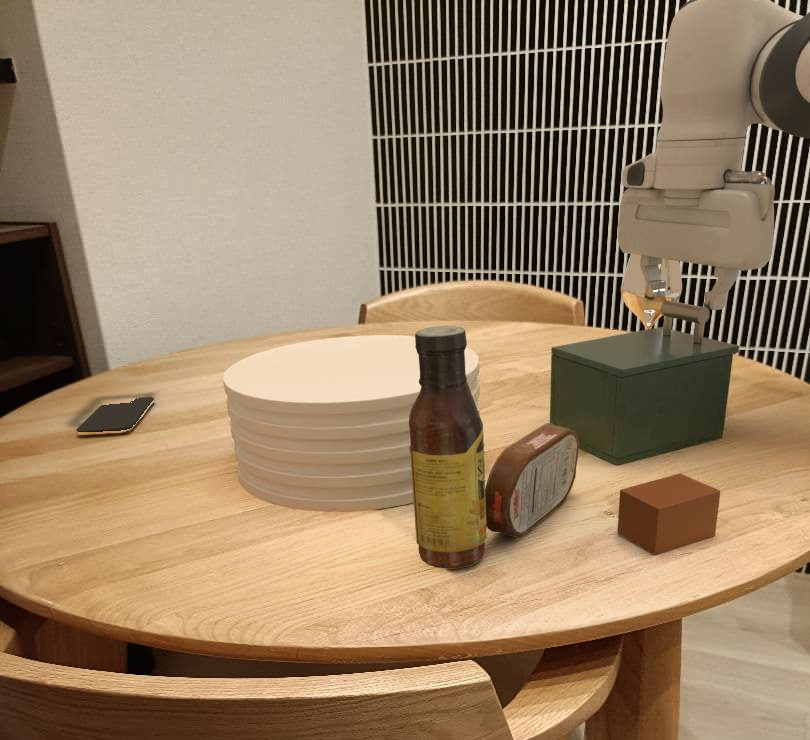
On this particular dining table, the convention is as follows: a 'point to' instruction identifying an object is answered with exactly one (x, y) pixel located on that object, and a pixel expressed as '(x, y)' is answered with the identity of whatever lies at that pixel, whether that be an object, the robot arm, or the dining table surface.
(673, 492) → the brown rectangular block
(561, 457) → the tin
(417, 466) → the sauce bottle
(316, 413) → the plate stack
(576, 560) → the dining table surface
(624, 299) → the wineglass
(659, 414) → the bin
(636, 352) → the bin lid
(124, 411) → the phone
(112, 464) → the dining table surface
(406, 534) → the dining table surface
